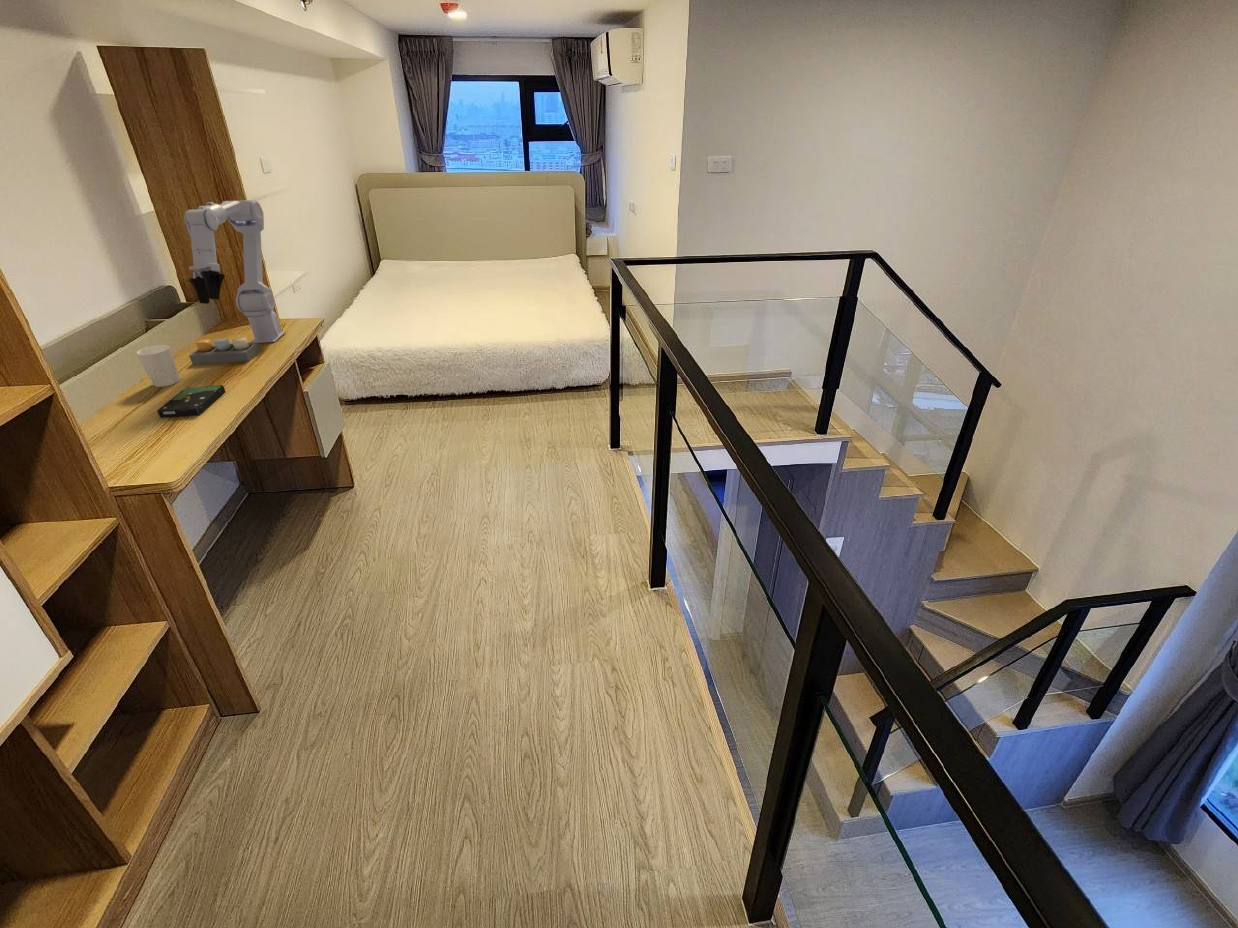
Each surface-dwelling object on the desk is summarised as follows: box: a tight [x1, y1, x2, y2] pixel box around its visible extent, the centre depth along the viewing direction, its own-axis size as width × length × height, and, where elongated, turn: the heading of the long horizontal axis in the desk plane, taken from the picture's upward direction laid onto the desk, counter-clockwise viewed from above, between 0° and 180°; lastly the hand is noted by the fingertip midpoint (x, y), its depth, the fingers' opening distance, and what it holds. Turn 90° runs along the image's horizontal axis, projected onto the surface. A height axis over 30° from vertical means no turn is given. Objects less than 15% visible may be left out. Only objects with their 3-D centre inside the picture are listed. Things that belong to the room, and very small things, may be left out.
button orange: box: [195, 338, 213, 352], centre depth 196 cm, size 4×4×3 cm
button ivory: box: [232, 336, 249, 350], centre depth 197 cm, size 4×4×3 cm
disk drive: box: [156, 384, 227, 419], centre depth 169 cm, size 10×3×15 cm
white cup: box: [136, 344, 181, 388], centre depth 180 cm, size 8×8×10 cm
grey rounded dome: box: [213, 338, 231, 351], centre depth 196 cm, size 4×4×3 cm
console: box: [188, 341, 262, 366], centre depth 198 cm, size 9×17×3 cm, turn 94°
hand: (209, 301), depth 181 cm, fingers open, 7 cm apart
